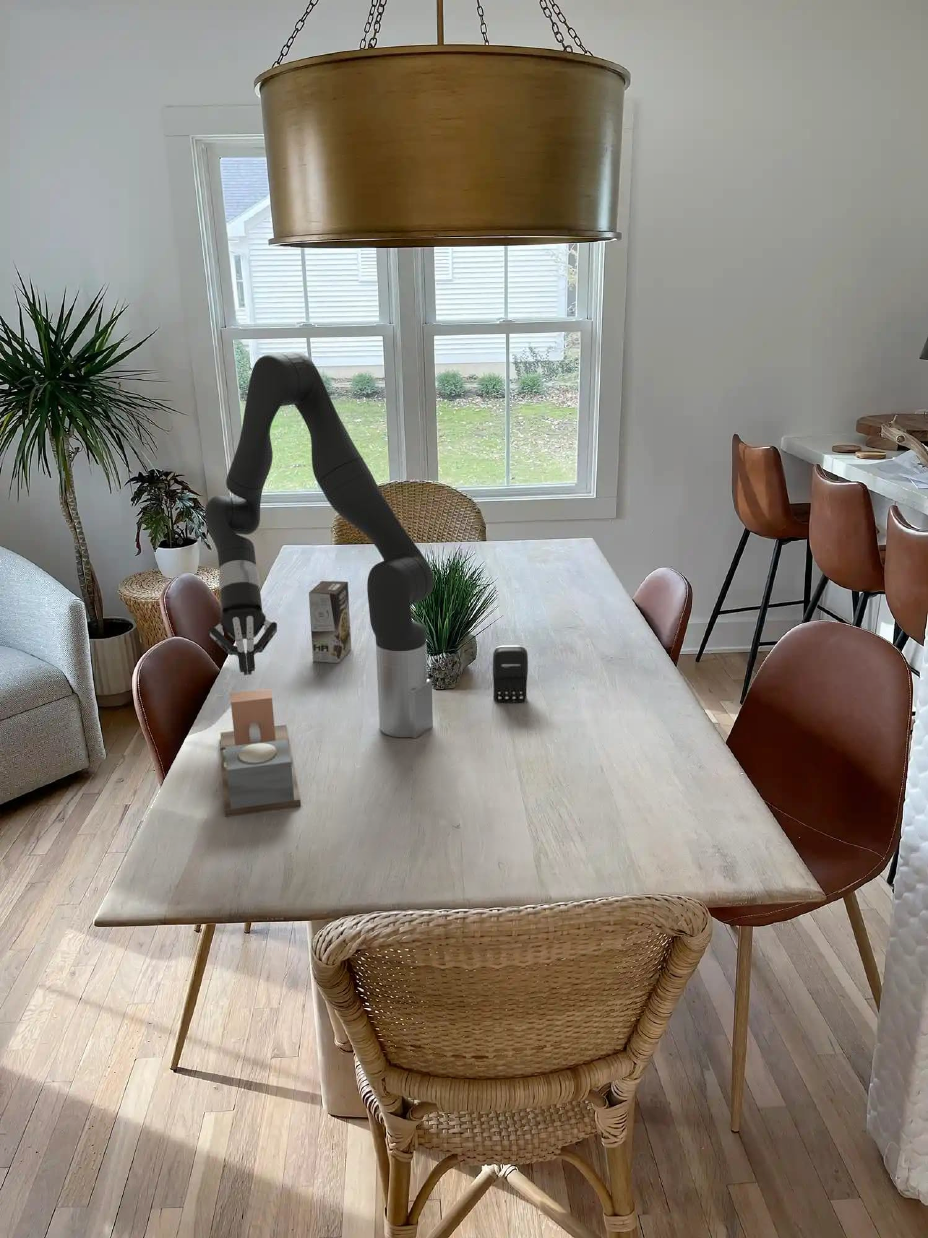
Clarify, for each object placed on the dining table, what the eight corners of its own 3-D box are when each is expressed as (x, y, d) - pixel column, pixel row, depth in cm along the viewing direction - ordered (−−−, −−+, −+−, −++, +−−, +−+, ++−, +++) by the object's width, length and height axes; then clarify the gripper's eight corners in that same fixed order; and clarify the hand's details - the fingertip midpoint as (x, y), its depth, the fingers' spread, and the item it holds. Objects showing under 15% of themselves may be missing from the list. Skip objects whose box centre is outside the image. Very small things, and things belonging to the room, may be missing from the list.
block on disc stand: (220, 745, 174) (214, 694, 171) (274, 739, 177) (270, 688, 173) (221, 769, 166) (215, 716, 163) (278, 762, 168) (274, 709, 165)
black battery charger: (492, 705, 193) (492, 651, 189) (492, 697, 196) (492, 644, 192) (528, 705, 193) (529, 651, 189) (527, 697, 196) (527, 644, 192)
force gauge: (221, 738, 180) (216, 696, 177) (286, 730, 183) (283, 688, 180) (224, 816, 155) (219, 768, 152) (301, 806, 158) (297, 758, 155)
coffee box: (339, 663, 213) (335, 594, 208) (312, 661, 214) (307, 592, 209) (352, 648, 222) (349, 580, 216) (325, 646, 223) (321, 579, 217)
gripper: (202, 583, 181) (209, 669, 174) (275, 577, 184) (284, 662, 177) (205, 601, 188) (212, 684, 181) (274, 595, 191) (284, 677, 184)
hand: (247, 673), depth 179 cm, fingers closed
